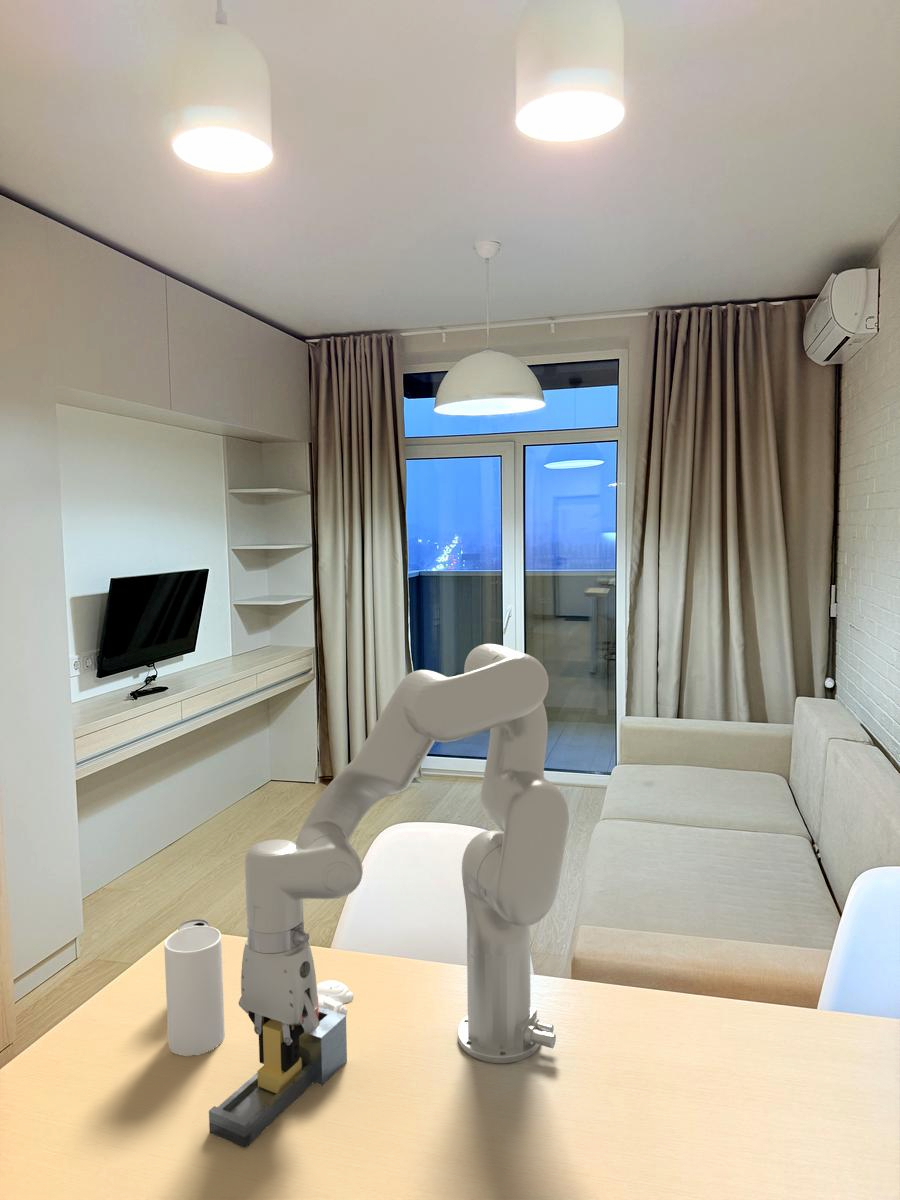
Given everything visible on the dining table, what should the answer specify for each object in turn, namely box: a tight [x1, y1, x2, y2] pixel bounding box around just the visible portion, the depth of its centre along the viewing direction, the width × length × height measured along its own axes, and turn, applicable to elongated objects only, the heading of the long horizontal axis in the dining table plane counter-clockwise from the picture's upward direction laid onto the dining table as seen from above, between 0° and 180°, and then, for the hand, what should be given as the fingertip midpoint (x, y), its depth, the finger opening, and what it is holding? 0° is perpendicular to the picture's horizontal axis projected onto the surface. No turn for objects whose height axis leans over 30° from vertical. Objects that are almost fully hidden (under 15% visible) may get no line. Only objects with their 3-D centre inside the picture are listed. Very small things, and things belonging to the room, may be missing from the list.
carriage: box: [256, 1019, 302, 1093], centre depth 115 cm, size 4×5×8 cm
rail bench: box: [208, 1007, 348, 1150], centre depth 114 cm, size 9×20×7 cm, turn 152°
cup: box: [163, 925, 226, 1057], centre depth 126 cm, size 8×8×16 cm
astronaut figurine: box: [317, 979, 354, 1016], centre depth 135 cm, size 9×12×3 cm
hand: (279, 1060), depth 115 cm, fingers closed on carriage, 3 cm apart
